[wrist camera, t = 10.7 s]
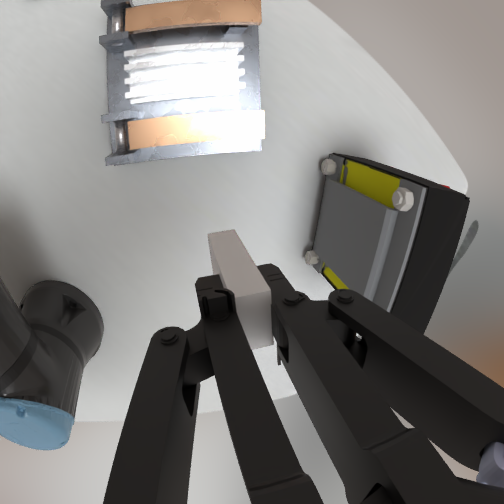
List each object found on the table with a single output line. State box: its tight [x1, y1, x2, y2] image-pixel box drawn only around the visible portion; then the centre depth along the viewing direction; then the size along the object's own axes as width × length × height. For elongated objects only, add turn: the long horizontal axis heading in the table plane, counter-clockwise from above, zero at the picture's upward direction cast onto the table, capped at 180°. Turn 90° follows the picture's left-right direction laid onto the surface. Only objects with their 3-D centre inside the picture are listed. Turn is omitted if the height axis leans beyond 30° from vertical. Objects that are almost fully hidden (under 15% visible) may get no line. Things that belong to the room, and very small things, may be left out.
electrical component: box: [305, 153, 470, 334], centre depth 38 cm, size 18×10×20 cm, turn 173°
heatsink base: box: [99, 0, 262, 166], centre depth 30 cm, size 18×20×9 cm
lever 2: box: [128, 110, 265, 150], centre depth 30 cm, size 14×3×1 cm, turn 91°
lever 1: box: [125, 0, 262, 34], centre depth 24 cm, size 14×3×1 cm, turn 91°
